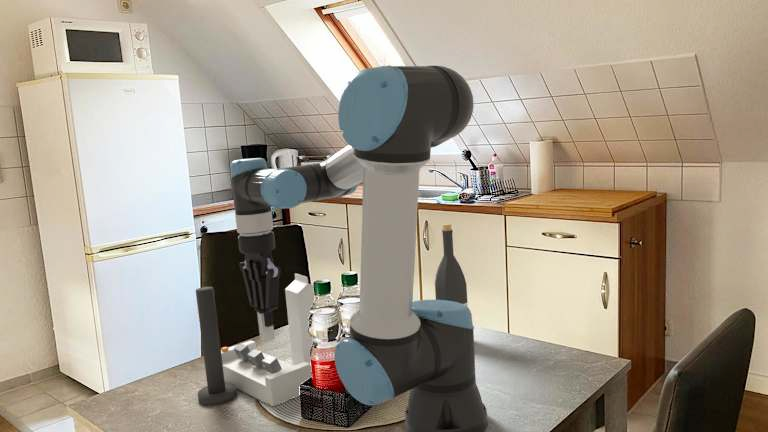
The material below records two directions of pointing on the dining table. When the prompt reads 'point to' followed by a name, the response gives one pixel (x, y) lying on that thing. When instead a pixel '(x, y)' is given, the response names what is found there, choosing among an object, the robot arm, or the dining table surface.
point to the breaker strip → (263, 377)
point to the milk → (299, 318)
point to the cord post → (212, 352)
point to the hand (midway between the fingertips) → (267, 339)
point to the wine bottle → (450, 273)
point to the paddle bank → (257, 358)
